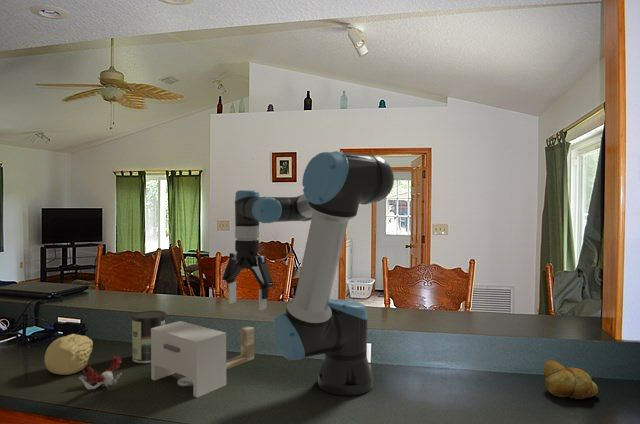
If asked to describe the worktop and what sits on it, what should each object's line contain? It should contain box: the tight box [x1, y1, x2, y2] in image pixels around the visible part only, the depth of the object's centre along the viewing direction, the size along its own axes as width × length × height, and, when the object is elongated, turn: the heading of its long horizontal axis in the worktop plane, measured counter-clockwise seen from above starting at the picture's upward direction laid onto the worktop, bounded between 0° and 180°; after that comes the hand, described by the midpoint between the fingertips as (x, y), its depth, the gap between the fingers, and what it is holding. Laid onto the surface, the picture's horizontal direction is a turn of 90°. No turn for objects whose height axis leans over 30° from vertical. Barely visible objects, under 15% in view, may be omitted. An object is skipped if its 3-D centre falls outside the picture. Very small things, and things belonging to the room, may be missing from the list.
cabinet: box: [150, 320, 227, 398], centre depth 130 cm, size 20×11×14 cm, turn 54°
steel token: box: [176, 376, 193, 388], centre depth 130 cm, size 5×5×1 cm
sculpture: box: [44, 333, 94, 376], centre depth 138 cm, size 11×12×11 cm
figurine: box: [78, 355, 123, 390], centre depth 128 cm, size 15×12×7 cm
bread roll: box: [542, 359, 599, 400], centre depth 123 cm, size 13×10×8 cm
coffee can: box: [131, 310, 167, 364], centre depth 150 cm, size 10×10×14 cm
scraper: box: [226, 325, 255, 371], centre depth 143 cm, size 8×18×10 cm, turn 144°
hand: (247, 305), depth 149 cm, fingers open, 13 cm apart
